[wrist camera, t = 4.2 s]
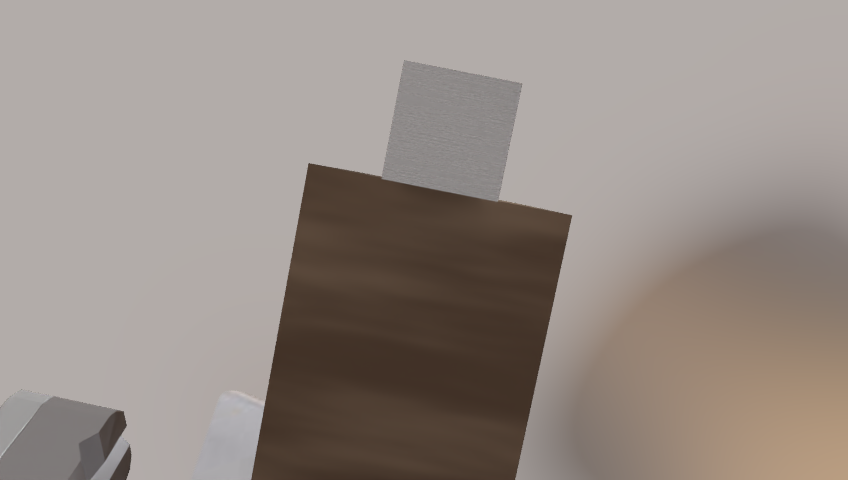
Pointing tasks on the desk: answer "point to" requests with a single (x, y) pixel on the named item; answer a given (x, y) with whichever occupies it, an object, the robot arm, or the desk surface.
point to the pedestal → (408, 333)
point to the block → (451, 131)
